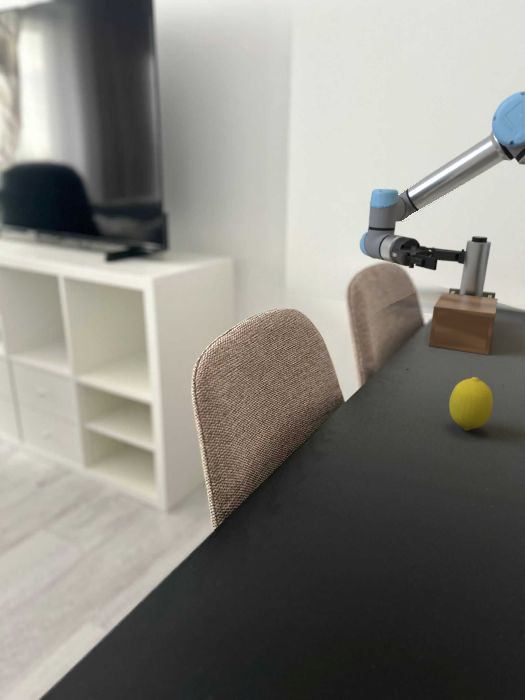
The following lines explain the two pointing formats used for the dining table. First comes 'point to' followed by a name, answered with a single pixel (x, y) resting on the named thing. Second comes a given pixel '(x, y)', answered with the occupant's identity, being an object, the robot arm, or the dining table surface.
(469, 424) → the lemon
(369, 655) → the dining table surface
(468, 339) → the cabinet
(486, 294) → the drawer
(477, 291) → the silver capped cylinder
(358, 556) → the dining table surface
